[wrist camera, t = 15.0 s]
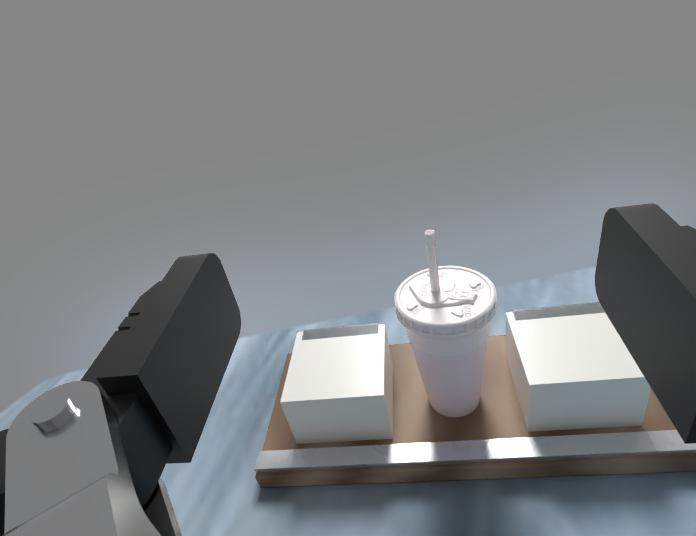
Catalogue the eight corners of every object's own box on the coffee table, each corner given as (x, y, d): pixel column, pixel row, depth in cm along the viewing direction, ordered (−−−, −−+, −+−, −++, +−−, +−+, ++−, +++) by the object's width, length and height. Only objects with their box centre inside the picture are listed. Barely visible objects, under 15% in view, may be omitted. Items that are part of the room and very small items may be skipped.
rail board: (260, 487, 32) (234, 436, 29) (291, 363, 42) (274, 315, 39) (703, 470, 28) (727, 407, 25) (620, 335, 38) (630, 279, 35)
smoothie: (430, 357, 38) (411, 204, 31) (510, 378, 35) (510, 212, 27) (396, 416, 34) (363, 255, 26) (483, 446, 30) (474, 272, 23)
